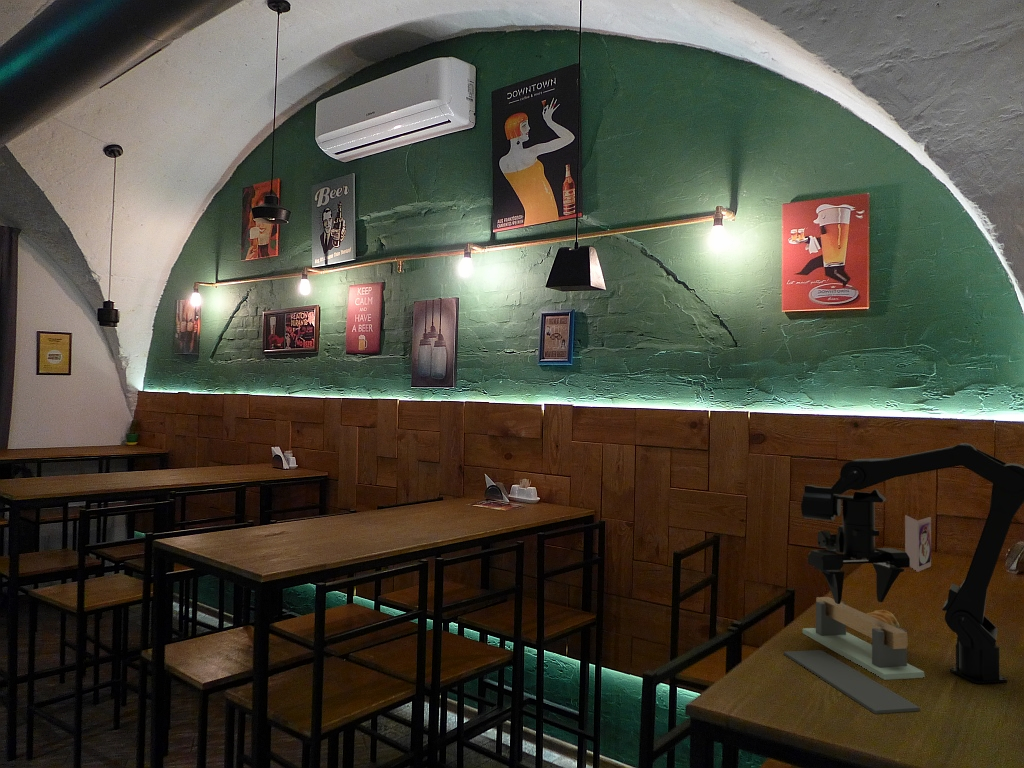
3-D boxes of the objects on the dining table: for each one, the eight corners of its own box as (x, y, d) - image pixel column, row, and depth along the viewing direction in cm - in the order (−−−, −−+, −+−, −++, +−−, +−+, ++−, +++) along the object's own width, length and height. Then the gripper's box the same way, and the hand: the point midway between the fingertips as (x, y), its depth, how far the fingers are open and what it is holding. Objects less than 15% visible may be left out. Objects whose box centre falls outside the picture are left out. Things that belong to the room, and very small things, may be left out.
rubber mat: (920, 710, 116) (920, 707, 116) (875, 713, 114) (875, 710, 114) (821, 652, 142) (821, 649, 142) (783, 654, 141) (783, 651, 141)
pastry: (882, 638, 152) (882, 620, 152) (850, 631, 157) (850, 613, 157) (901, 630, 158) (901, 612, 158) (869, 622, 163) (869, 605, 163)
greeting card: (920, 572, 211) (920, 521, 211) (893, 568, 217) (893, 517, 217) (934, 566, 219) (934, 517, 219) (907, 562, 224) (907, 514, 225)
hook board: (924, 677, 130) (924, 635, 130) (884, 679, 129) (884, 637, 129) (836, 631, 155) (836, 596, 156) (802, 633, 154) (802, 597, 154)
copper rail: (907, 648, 130) (907, 632, 131) (893, 649, 130) (893, 633, 130) (828, 610, 154) (828, 596, 154) (816, 610, 154) (816, 597, 154)
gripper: (874, 515, 152) (874, 590, 152) (792, 517, 149) (792, 593, 149) (911, 524, 141) (912, 605, 141) (824, 526, 138) (824, 609, 138)
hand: (858, 602), depth 142 cm, fingers open, 9 cm apart
